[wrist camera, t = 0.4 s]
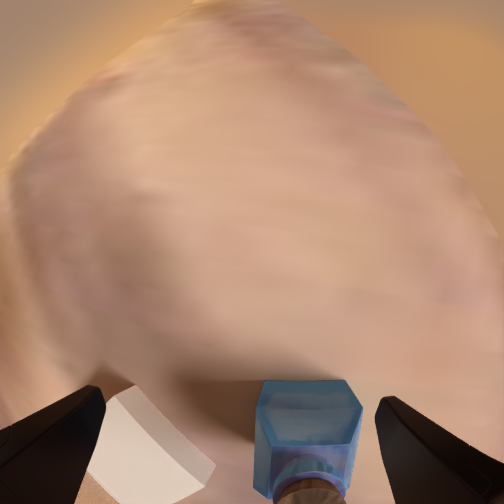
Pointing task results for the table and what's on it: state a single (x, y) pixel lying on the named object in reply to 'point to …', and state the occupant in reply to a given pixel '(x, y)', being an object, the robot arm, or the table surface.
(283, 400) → the perfume bottle
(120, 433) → the cream block
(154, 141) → the table surface
